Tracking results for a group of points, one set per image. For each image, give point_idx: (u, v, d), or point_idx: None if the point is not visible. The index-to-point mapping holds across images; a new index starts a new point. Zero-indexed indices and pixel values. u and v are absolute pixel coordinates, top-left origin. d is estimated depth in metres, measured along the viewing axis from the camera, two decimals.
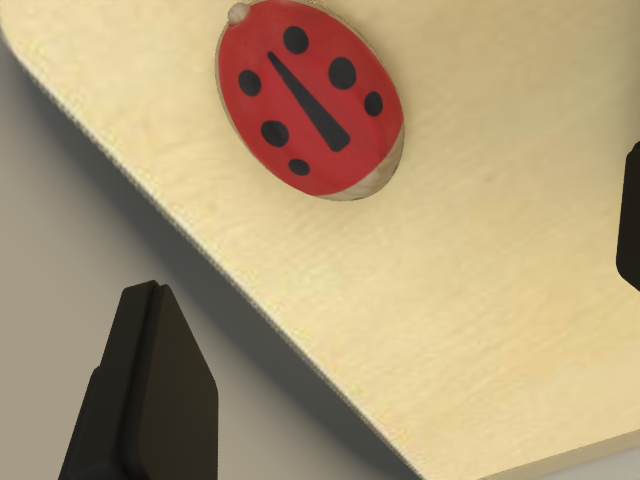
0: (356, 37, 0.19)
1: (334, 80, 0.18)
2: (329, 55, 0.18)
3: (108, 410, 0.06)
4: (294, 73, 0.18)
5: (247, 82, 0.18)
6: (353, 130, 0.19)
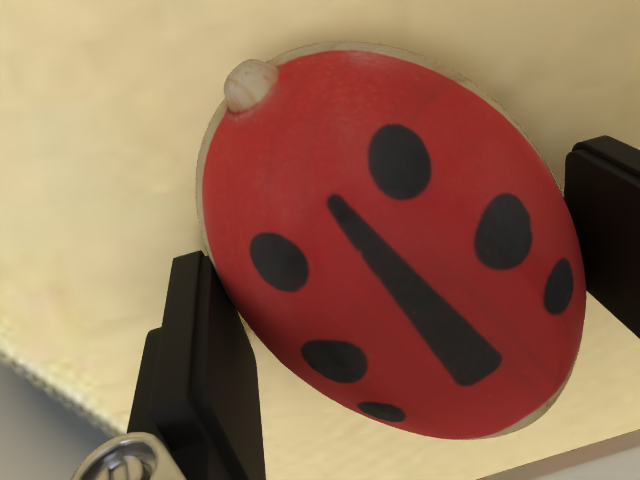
0: (517, 134, 0.08)
1: (486, 252, 0.07)
2: (478, 194, 0.07)
3: (177, 359, 0.07)
4: (392, 242, 0.07)
5: (274, 259, 0.07)
6: (511, 345, 0.08)
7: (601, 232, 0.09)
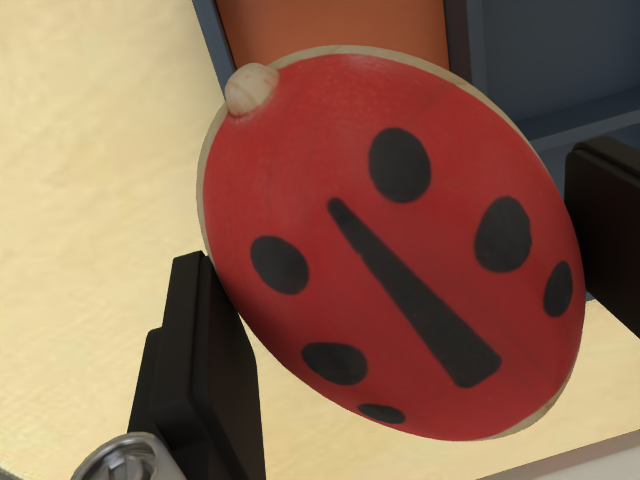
0: (517, 137, 0.08)
1: (486, 255, 0.07)
2: (478, 197, 0.07)
3: (177, 359, 0.07)
4: (392, 246, 0.07)
5: (274, 262, 0.07)
6: (510, 347, 0.08)
7: (601, 232, 0.09)
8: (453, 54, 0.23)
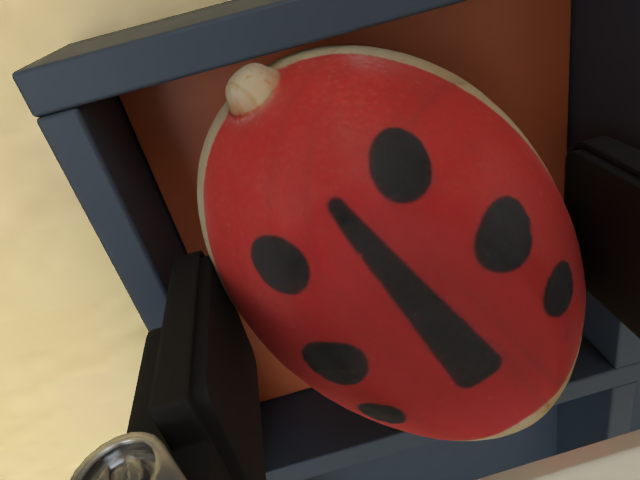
0: (518, 136, 0.08)
1: (487, 255, 0.07)
2: (478, 197, 0.07)
3: (177, 359, 0.07)
4: (392, 245, 0.07)
5: (275, 262, 0.07)
6: (511, 347, 0.08)
7: (601, 232, 0.09)
8: None
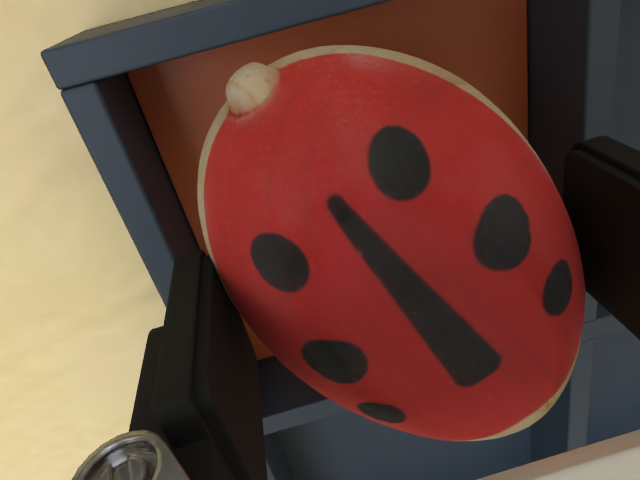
0: (517, 136, 0.09)
1: (486, 253, 0.07)
2: (477, 195, 0.07)
3: (179, 357, 0.07)
4: (391, 242, 0.07)
5: (275, 260, 0.07)
6: (510, 346, 0.08)
7: (599, 232, 0.09)
8: None
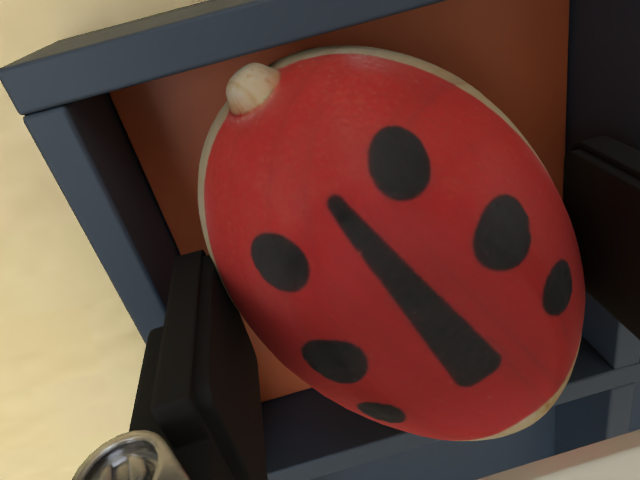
0: (517, 136, 0.09)
1: (485, 252, 0.07)
2: (477, 195, 0.07)
3: (179, 357, 0.07)
4: (392, 243, 0.07)
5: (274, 260, 0.07)
6: (510, 346, 0.08)
7: (599, 232, 0.09)
8: None
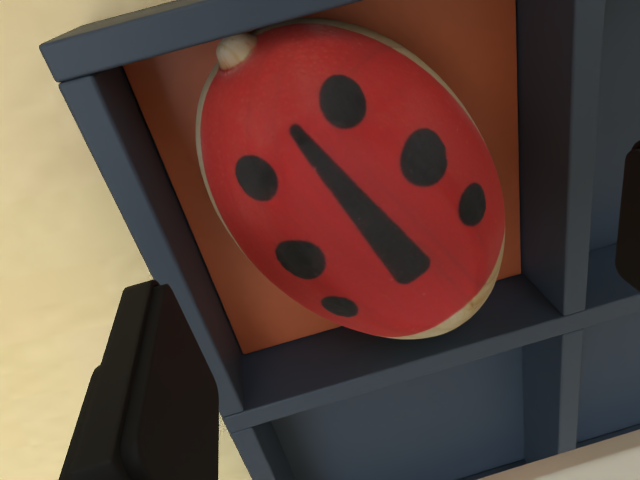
0: (441, 88, 0.11)
1: (411, 171, 0.10)
2: (402, 127, 0.10)
3: (109, 409, 0.06)
4: (338, 161, 0.10)
5: (252, 176, 0.10)
6: (436, 250, 0.11)
7: None
8: (528, 158, 0.14)
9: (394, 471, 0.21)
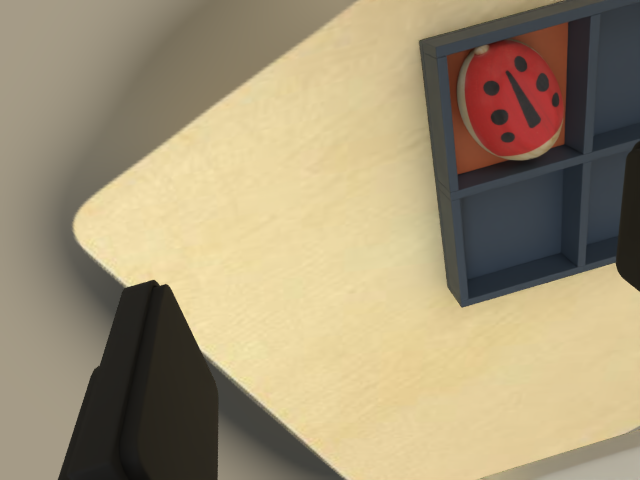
0: (545, 61, 0.33)
1: (538, 86, 0.32)
2: (537, 72, 0.32)
3: (108, 410, 0.06)
4: (518, 82, 0.32)
5: (490, 87, 0.32)
6: (543, 115, 0.33)
7: None
8: (570, 90, 0.36)
9: (498, 253, 0.43)
